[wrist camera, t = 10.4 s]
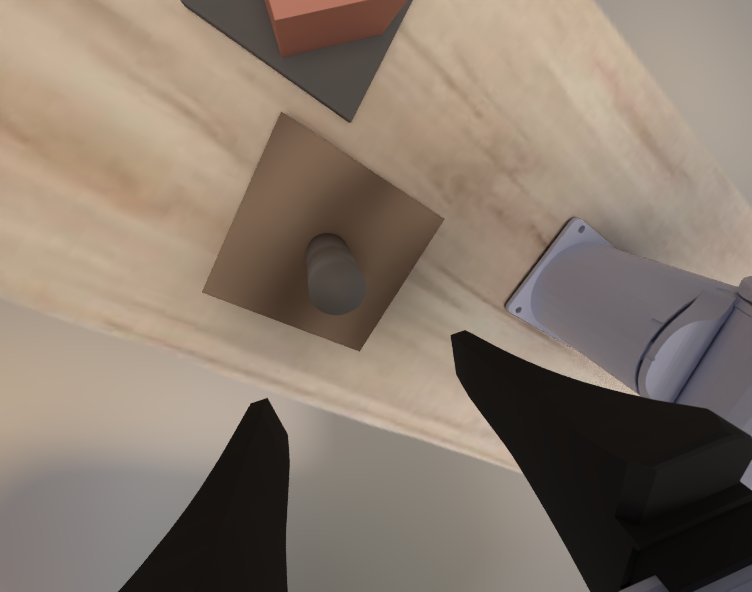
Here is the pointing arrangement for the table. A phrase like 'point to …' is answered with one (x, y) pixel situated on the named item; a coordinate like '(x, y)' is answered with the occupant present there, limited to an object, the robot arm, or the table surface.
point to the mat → (308, 69)
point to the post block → (319, 240)
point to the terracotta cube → (327, 22)
